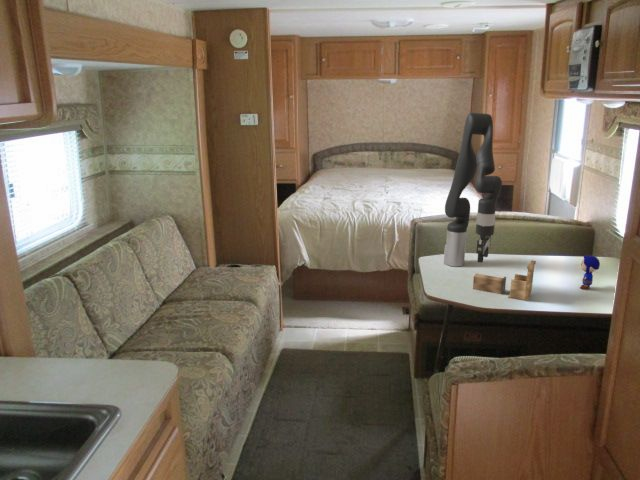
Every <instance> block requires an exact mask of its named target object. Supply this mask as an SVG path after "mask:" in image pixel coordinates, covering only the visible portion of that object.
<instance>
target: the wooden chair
mask: <svg viewBox="0 0 640 480" xmlns="http://www.w3.org/2000/svg"><path fill="white" fill-rule="evenodd" d="M536 264H537V263H536V260H534V259H533V260H530V261H529V263H528V265H527V266H526V269H527V273H526V275H524V274H519V273H515V274H514V278H513V279H512V278H511V280H510V288H509V294H508V295H507V298H508V299H514V300H518V301H519V300H520V301H524V302H528V301H529V299H530V297H531V295H532V292H533V291H532V290H533V281H534V274H535V273H534V272H535V265H536Z"/></svg>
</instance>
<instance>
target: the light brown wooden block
mask: <svg viewBox="0 0 640 480" xmlns="http://www.w3.org/2000/svg"><path fill="white" fill-rule="evenodd" d="M472 283H473V284H472V290H475V291H480V292H486V293H492V294H496V295H504V293H505V292H506V283H507V277H506V276H503V277H500V276H499V277H498V276H493V275H487V274H481V273H475V274H474V275H473V281H472Z"/></svg>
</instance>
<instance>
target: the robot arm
mask: <svg viewBox="0 0 640 480" xmlns="http://www.w3.org/2000/svg"><path fill="white" fill-rule="evenodd" d="M493 123H494V122H493V117H492V116H491V114H489V113H483V112H482V113H481V112H480V113H478V112H469V113H468V114H467V116H466V117H465V122H464V127H463V131H462V132H463V134H462V140H461V146H460V150H459V153H458V157H457V161H456V165H455V169H454V173H453V174H454V175H453V179H452V182H451V186H450V189H449V192H448V196H447V197H446V201H445V206H444V212H445V216H446V217H448V218H454V219H453V220H452V221H451V222H449V223H448V224H447V225H446V226H447V227H446V241H445V242H446V244H445V245H444V252H443V255H444V256H443V264H444V265H446V266H450V267H454V268H455V267H463V266H464V265H465V259H466V258H465V255H466V244H467V243H466V242H467V230H468V227H469V222H470V214H471V203H470V200H469V199H468V198H467V197H461V195H462V193H463V191H464V190H465V189H466V188H467V186H468V185H469V184H470V183H471V182H472V180H473V179H474V178H475V175H476V180H475V185H474V187H475V190H476V192H478V193H479V194H489V196H486V197H482V198H480V199H478V204H477V214H476V220H475V221H476V222H475V223H476V224H475V234H477V235H479V238H478V239H477V240H476V242H477V245H476V254H477V263H480V264H481V263H483V262H484V258H488V257H489V250H490V247H491V244H492V243H491V241H492V236H493V235H494V234H495V226H496V207H497V206H496V205H497V200H498V197H499V195H500V192H501V190H502V188H503V187H502V186H503V181H502V179H501V177H500V176H497V175H491V174H494V172H495V169H496V168H495V167H496V165H495V161H494V154H493V153H494V151H493V150H494V149H493V148H494V146H493V145H494V144H493V142H494V124H493ZM473 135H477V136H478V135H480V136H483V142H482V144H481V145H480V147H479V148H478V151H477V152H475V150H474V148H473V144H472V140H473V139H472V138H473ZM476 172H477V174H476Z"/></svg>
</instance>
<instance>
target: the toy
mask: <svg viewBox="0 0 640 480" xmlns="http://www.w3.org/2000/svg"><path fill="white" fill-rule="evenodd" d="M600 266H601V263H600V260H599V258H598V257H597V256H596V255H587V254H585V255H583V260H582V262H581V264H580V269H581V270H582V271H583V272H585V273H584V274H583V277H582V280H581V281H582V284H581V285H580V286H579V289H581V290H585V291H589V289H590V288H591V285H592V284H593V272H596V271H597V270H599V269H600Z"/></svg>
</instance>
